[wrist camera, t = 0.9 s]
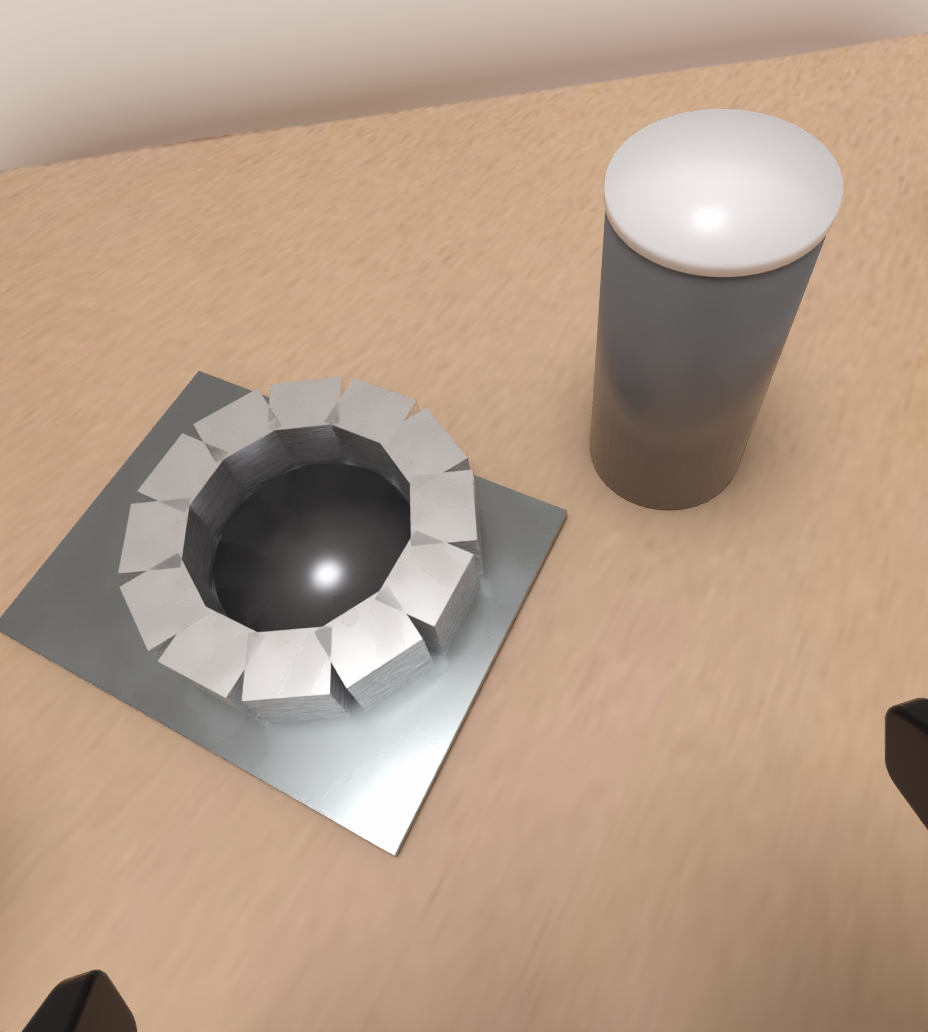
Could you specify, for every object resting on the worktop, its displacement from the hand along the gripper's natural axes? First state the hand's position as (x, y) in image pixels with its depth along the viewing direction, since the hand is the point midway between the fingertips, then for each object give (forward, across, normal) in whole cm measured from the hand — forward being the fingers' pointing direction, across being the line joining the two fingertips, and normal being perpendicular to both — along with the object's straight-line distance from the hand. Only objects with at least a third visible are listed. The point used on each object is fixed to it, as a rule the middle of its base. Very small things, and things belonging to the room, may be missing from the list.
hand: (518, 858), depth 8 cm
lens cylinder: (+18, -10, +4) cm, 21 cm away
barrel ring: (+18, +4, +4) cm, 19 cm away
